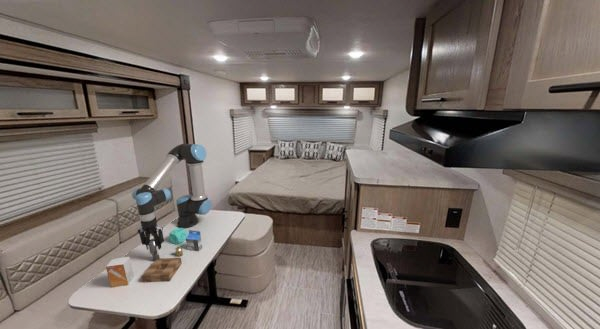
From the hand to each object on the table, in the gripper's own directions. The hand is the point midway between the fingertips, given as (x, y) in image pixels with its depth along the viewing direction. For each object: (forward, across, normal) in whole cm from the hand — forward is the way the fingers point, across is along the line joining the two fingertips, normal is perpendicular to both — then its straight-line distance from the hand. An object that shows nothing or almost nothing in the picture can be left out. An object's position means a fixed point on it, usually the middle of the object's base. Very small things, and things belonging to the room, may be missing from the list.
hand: (155, 253), depth 134 cm
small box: (+5, -8, -17) cm, 19 cm away
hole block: (+5, +10, -11) cm, 16 cm away
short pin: (+5, +12, +4) cm, 14 cm away
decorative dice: (+5, +4, +20) cm, 21 cm away
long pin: (+5, 0, 0) cm, 5 cm away
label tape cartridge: (+5, +19, +10) cm, 22 cm away
